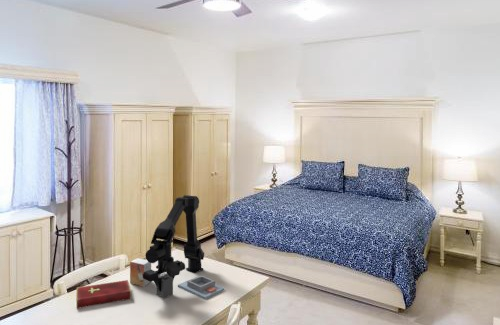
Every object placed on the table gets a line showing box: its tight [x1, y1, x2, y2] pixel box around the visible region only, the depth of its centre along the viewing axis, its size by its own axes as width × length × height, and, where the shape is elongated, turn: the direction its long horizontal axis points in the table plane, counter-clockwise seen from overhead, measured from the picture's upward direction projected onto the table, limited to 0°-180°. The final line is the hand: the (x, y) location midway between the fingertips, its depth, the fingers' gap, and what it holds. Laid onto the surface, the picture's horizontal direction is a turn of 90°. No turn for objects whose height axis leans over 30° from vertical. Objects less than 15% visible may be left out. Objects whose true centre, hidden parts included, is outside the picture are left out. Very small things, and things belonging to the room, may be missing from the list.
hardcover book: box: [75, 279, 132, 309], centre depth 159 cm, size 12×21×4 cm, turn 114°
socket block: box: [177, 275, 225, 300], centre depth 170 cm, size 18×12×4 cm, turn 50°
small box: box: [129, 257, 152, 287], centre depth 174 cm, size 8×6×10 cm
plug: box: [155, 272, 174, 299], centre depth 162 cm, size 5×5×9 cm
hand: (164, 289), depth 163 cm, fingers closed on plug, 5 cm apart
